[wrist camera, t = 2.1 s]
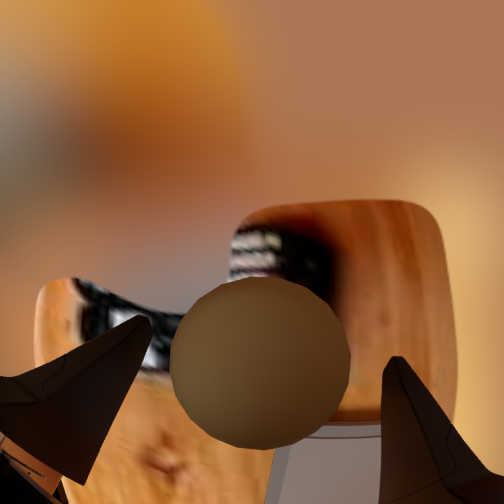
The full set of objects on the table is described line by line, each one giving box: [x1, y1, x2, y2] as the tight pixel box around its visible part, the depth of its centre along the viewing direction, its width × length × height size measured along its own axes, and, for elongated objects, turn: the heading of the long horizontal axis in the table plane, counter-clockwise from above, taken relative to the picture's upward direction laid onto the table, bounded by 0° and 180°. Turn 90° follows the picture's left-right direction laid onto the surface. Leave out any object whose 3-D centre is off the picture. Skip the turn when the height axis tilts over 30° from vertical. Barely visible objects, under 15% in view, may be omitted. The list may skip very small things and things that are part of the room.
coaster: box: [264, 420, 381, 504], centre depth 12 cm, size 9×9×1 cm
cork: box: [169, 277, 351, 450], centre depth 11 cm, size 6×6×11 cm
